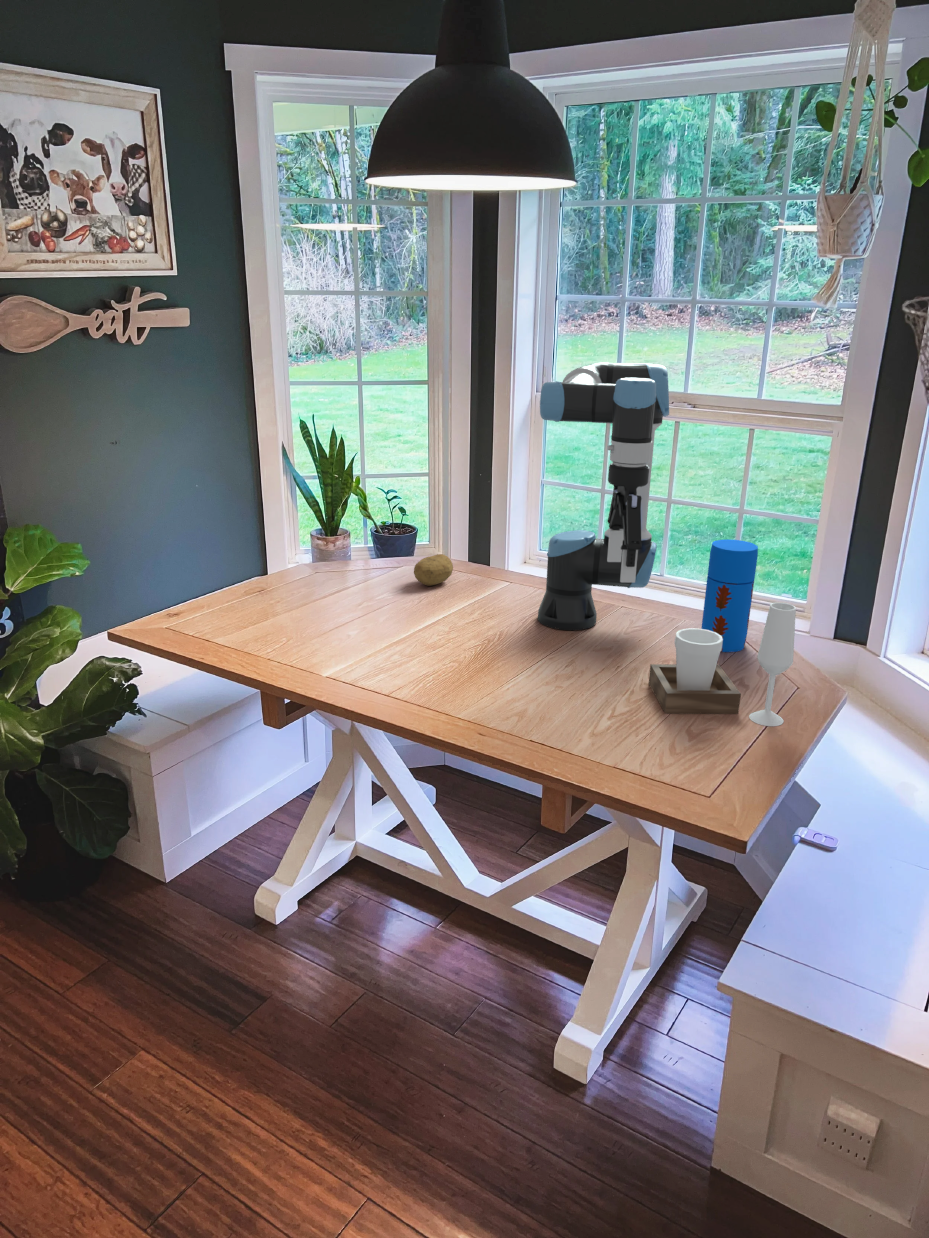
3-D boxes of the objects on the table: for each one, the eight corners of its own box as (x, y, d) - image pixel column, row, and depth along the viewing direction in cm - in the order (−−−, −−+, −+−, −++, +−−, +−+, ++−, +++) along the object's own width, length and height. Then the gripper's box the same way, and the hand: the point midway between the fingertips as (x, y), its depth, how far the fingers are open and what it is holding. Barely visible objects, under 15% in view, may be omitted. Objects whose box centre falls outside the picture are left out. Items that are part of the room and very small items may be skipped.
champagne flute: (745, 710, 183) (761, 599, 175) (779, 712, 183) (796, 601, 175) (752, 725, 177) (768, 611, 169) (787, 727, 177) (805, 613, 168)
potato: (404, 586, 256) (403, 560, 253) (433, 575, 267) (433, 549, 264) (431, 593, 251) (431, 566, 248) (460, 581, 262) (460, 555, 259)
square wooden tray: (648, 683, 195) (650, 664, 194) (716, 683, 196) (718, 664, 194) (665, 713, 181) (667, 693, 180) (738, 713, 182) (740, 693, 180)
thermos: (694, 646, 216) (706, 547, 208) (705, 633, 225) (716, 537, 217) (740, 655, 211) (754, 553, 203) (749, 641, 220) (762, 543, 212)
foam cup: (665, 698, 186) (672, 640, 181) (673, 681, 194) (679, 625, 189) (712, 706, 183) (720, 647, 178) (718, 689, 191) (725, 632, 186)
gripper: (598, 451, 180) (591, 553, 187) (622, 476, 156) (613, 591, 163) (635, 452, 180) (626, 553, 187) (665, 476, 156) (654, 591, 164)
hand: (620, 571), depth 175 cm, fingers open, 13 cm apart
